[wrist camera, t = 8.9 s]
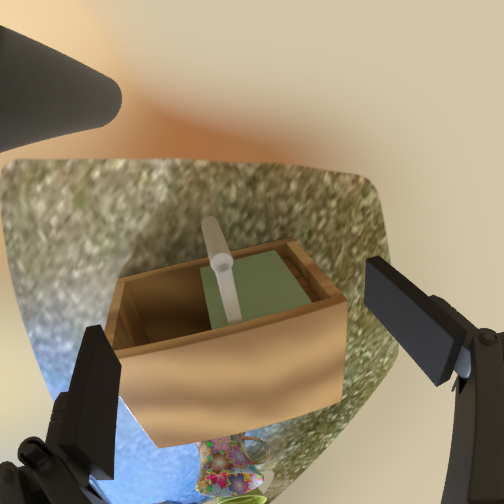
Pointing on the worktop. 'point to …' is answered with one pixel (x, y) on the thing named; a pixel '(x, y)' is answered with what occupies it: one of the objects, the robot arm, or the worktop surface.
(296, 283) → the sliding door
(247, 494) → the plant pot
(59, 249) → the worktop surface
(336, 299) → the cupboard
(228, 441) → the mug
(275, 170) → the worktop surface
